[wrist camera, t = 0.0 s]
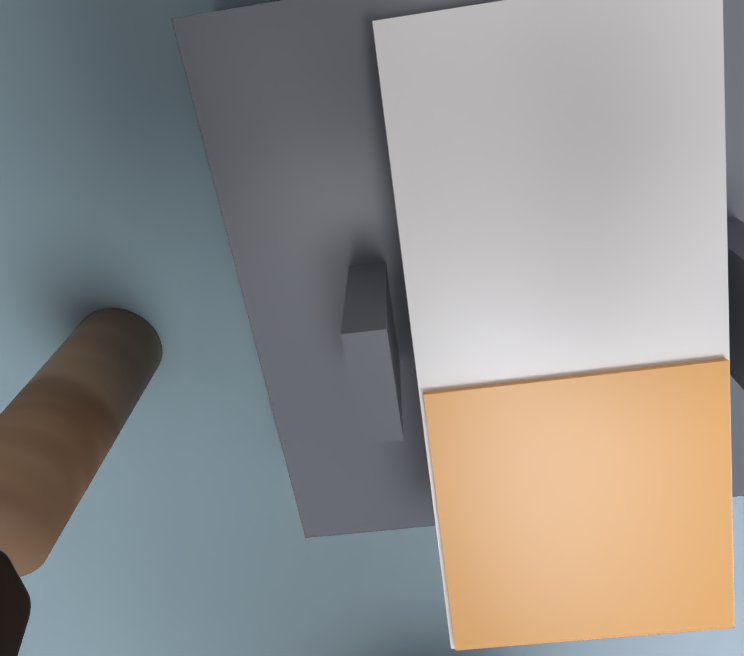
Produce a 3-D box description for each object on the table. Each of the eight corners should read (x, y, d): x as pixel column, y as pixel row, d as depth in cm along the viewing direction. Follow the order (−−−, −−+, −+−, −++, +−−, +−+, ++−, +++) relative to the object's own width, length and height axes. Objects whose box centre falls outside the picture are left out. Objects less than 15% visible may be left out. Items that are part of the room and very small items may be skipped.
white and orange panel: (716, 600, 17) (738, 630, 16) (448, 623, 18) (451, 654, 17) (700, -20, 14) (726, -38, 13) (374, 31, 15) (372, 18, 13)
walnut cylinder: (172, 376, 24) (67, 573, 16) (93, 386, 24) (-48, 584, 16) (147, 303, 23) (20, 477, 15) (64, 314, 23) (-105, 491, 15)
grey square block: (740, 416, 25) (880, 587, 18) (316, 461, 26) (291, 637, 19) (809, -86, 17) (1097, -131, 10) (211, 11, 18) (109, 29, 12)
